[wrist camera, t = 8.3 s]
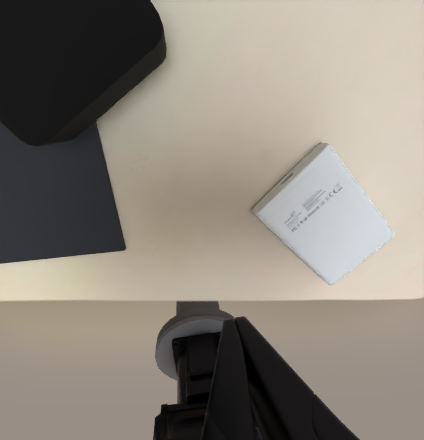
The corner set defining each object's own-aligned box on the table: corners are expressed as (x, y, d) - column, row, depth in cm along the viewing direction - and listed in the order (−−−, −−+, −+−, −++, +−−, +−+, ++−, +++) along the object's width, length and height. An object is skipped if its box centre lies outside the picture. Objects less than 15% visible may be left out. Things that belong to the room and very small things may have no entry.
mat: (125, 248, 21) (124, 250, 21) (-27, 264, 20) (-31, 266, 20) (54, -54, 13) (50, -59, 13) (-212, -58, 12) (-224, -64, 11)
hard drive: (322, 277, 26) (250, 209, 21) (384, 227, 24) (319, 141, 19) (330, 287, 24) (255, 216, 20) (397, 234, 22) (331, 143, 18)
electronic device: (170, 32, 12) (-23, -277, 8) (33, 153, 13) (-193, -58, 9) (172, 54, 15) (44, -145, 11) (66, 146, 17) (-83, -5, 13)
